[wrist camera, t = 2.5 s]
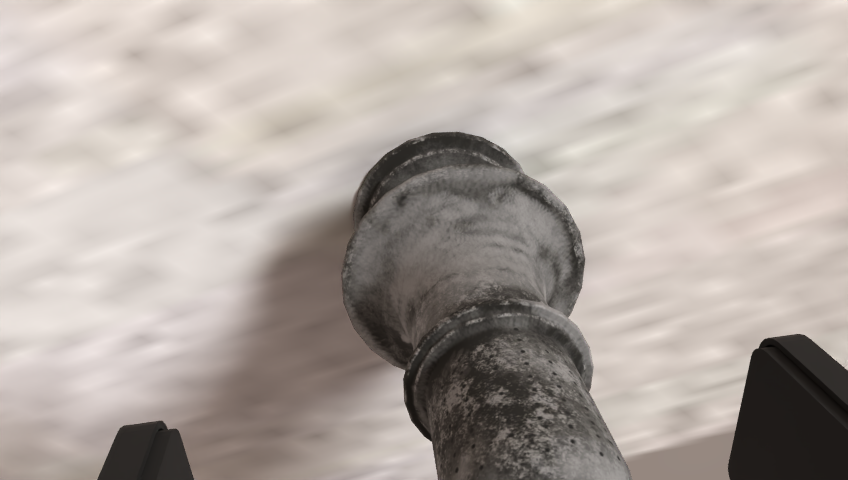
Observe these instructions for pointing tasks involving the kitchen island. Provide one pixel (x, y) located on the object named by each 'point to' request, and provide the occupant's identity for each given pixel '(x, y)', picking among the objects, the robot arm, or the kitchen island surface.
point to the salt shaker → (478, 311)
